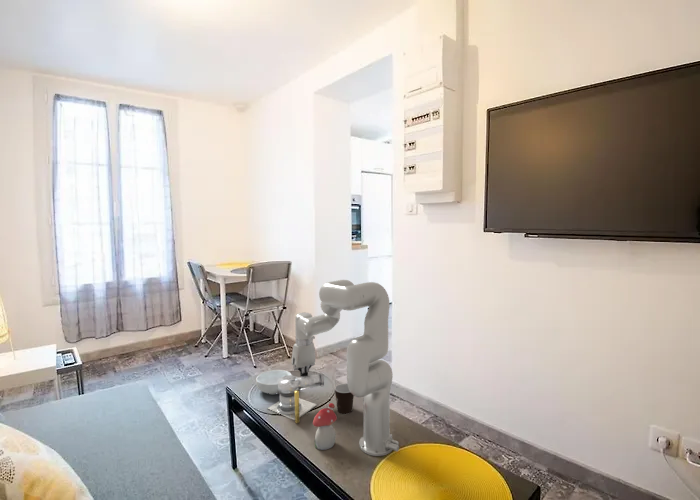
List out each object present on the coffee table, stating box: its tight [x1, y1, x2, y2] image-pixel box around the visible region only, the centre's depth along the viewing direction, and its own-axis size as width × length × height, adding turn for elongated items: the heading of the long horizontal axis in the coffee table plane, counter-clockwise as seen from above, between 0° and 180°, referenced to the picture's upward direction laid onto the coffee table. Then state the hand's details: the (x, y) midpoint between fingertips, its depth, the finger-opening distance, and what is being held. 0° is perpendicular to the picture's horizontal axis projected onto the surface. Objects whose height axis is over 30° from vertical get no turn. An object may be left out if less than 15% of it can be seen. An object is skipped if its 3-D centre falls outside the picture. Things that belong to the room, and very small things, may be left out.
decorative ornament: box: [312, 402, 338, 451], centre depth 133 cm, size 9×6×15 cm
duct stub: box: [267, 390, 318, 424], centre depth 158 cm, size 16×19×14 cm
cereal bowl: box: [255, 369, 292, 395], centre depth 176 cm, size 17×17×7 cm
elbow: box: [277, 372, 325, 396], centre depth 159 cm, size 20×9×6 cm, turn 108°
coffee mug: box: [334, 382, 355, 415], centre depth 159 cm, size 12×9×10 cm
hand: (304, 379), depth 164 cm, fingers closed
